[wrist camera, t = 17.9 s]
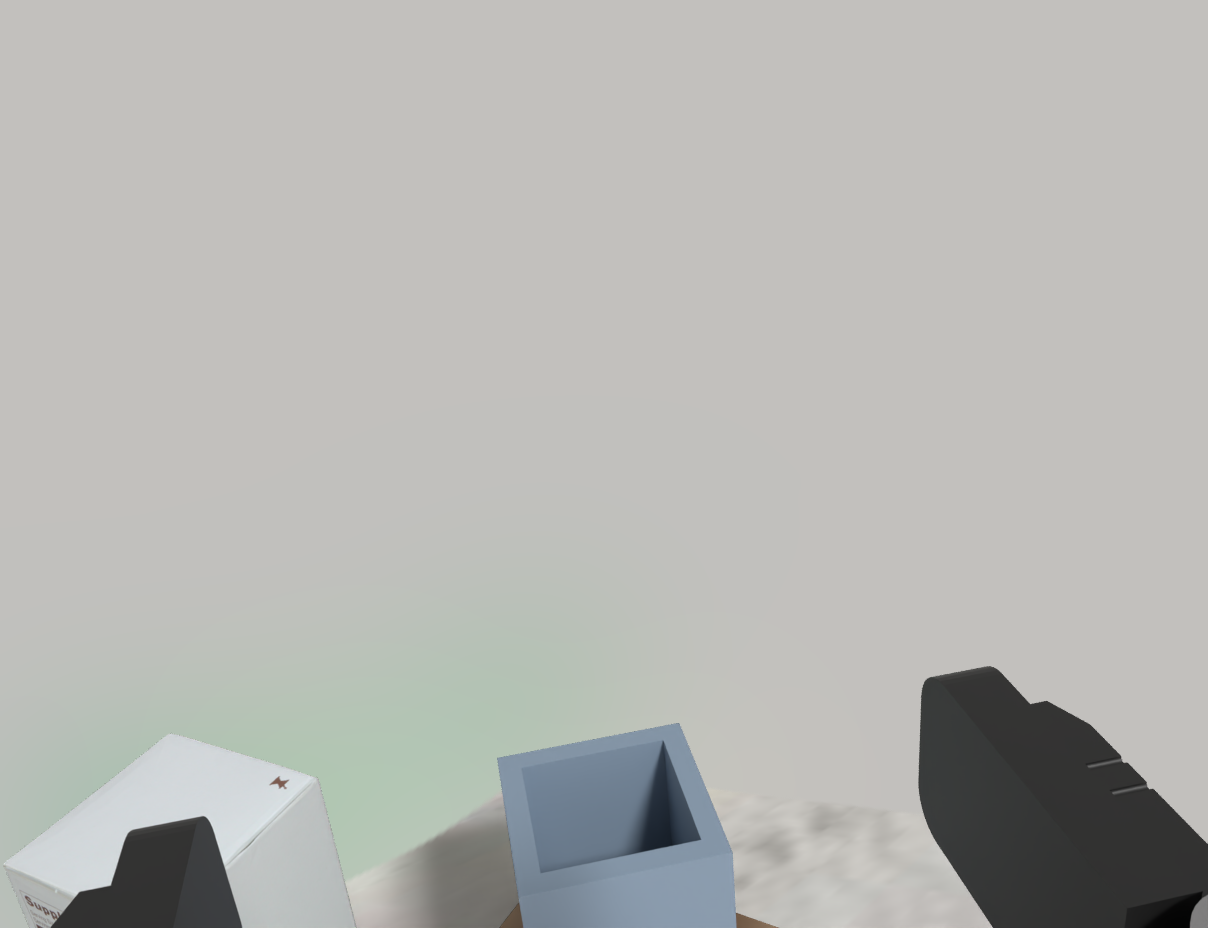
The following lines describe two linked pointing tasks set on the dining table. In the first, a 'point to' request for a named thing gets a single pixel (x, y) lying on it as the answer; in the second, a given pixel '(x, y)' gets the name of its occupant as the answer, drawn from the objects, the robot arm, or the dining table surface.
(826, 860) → the dining table surface
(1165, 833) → the robot arm
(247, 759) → the supplement box
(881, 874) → the dining table surface
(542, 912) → the sleeve
